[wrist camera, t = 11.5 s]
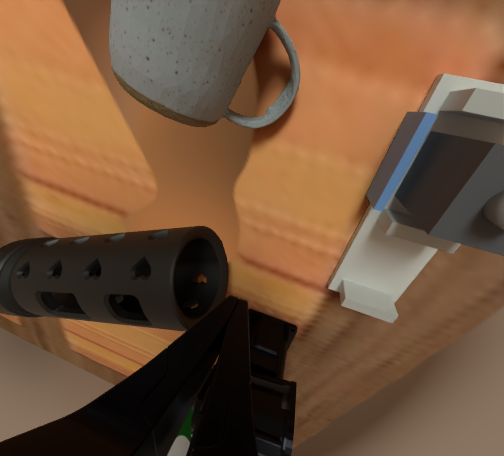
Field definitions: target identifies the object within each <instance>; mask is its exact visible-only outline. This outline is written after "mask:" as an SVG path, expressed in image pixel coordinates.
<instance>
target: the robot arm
mask: <svg viewBox="0 0 504 456" xmlns="http://www.w3.org/2000/svg"><path fill="white" fill-rule="evenodd" d="M296 333H297V326H295V325H293V324H290V323H287V322H285V321H282V320H279V319H277V318H274V317H271V316H268V315H266V314H263V313H260V312H258V311H255V310H252V309H249V310H248V301H247V300H244V299H241V298H240V299H239V298H238V297H236V296H233V295H230V296H228V297H227V298H226V299H225V300H223V301H222V302H221V303H220V304H219V305H217V306H216V307H215V308H214V309H213V310H211V311H210V312H209V313H208V314H207V315H205V316H204V317H203V318H202V319H201V320H199V321H198V322H197V323H196V324H195V325H193V326H192V327H191V328H190V329H189V330H187V331H186V332H185V333H184V334H183V335H181V336H180V337H179V338H178V339H177V340H175V341H174V342H173V343H172V344H170V345H169V346H168V349H167V348H166V349H164V350H163V351H162V352H161V353H160V354H158V355H157V356H156V357H155V358H153V359H152V360H151V361H149V362H148V363H147V364H146V365H144V366H143V367H142V368H140V369H139V370H137V371H136V372H134V373H133V374H132V375H130V376H129V377H127V378H126V379H124V380H123V381H121V382H120V383H118V384H117V385H116V386H114V387H113V388H111V389H110V390H108V391H107V392H105V393H104V394H102V395H101V396H99V397H98V398H96V399H95V400H94V401H92V402H90V403H89V404H87V405H86V406H84V407H82V408H81V409H79V410H77V411H75V412H73V413H72V414H69V415H67V416H65V417H63V418H61V419H58V420H56V421H53V422H50V423H48V424H45V425H43V426H40V427H37V428H35V429H33V430H30V431H27V432H25V433H22V434H20V435H17V436H15V437H12V438H10V439H7V440H4V441H2V442H0V456H167V455H168V453H169V451H170V449H171V447H172V445H173V443H174V441H175V439H176V437H177V435H178V433H179V431H180V429H181V427H182V425H183V423H184V421H185V420H186V418H187V416H188V414H189V412H190V410H191V408H193V416H192V420H191V430H192V431H193V434H192V438H191V441H190V444H189V448H188V451H187V454H186V456H291V452H292V444H293V435H294V422H295V402H296V382H293V381H291V382H290V381H287V380H283V375H284V368H285V361H286V354H287V350H288V348H289V346H290V344H291V342H292V340H293V338H294V336H295V335H296ZM218 355H219V357H218ZM217 357H218V360H217V363H216V365H214V363H215V361H216V359H217ZM213 365H214V367H213ZM212 367H213V368H212ZM211 369H212V370H211ZM210 371H211V372H210ZM209 373H210V374H209ZM208 375H209V376H208ZM207 377H208V378H207ZM206 378H207V379H206ZM205 380H206V381H205ZM204 382H205V383H204ZM203 384H204V385H203ZM202 386H203V387H202ZM201 388H202V389H201ZM283 408H285V409H283Z"/></svg>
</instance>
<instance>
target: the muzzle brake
mask: <svg viewBox="0 0 504 456" xmlns="http://www.w3.org/2000/svg"><path fill="white" fill-rule="evenodd" d="M201 273H203V274H204V275H205V276H206V278H207V282H206V283H204V282H201V283H198V282H197V278H198V276H199V275H200V274H201ZM227 285H228V262H227V257H226V254H225V250H224V247H223V244H222V241H221V240H220V238H219V237H218V236H217V234H216V233H215V232H214V231H213V230H212V229H210V228H208V227H205V226H195V227H184V228H172V229H161V230H151V231H138V232H127V233H115V234H104V235H93V236H81V237H70V238H54V237H43V238H32V239H24V240H19V241H15V242H12V243H10V244H7V245H5V246H3V247H1V248H0V313H2V314H7V315H13V316H21V317H42V316H48V317H57V318H66V319H76V320H85V321H94V322H103V323H113V324H122V325H131V326H140V327H150V328H159V329H168V330H177V331H187V330H189V329H190V328H191V327H192V326H193V325H195V324H196V323H197V322H198V321H199V320H201V319H202V318H203V317H204V316H205V315H207V314H208V313H209V312H210V311H211V310H213V309H214V308H215V307H216V306H217V305H219V304H220V303H221V302H222V301H223V300H225V296H226V292H227ZM196 304H199V305H198V306H197V307H196V308H193V309H192V308H191V307H192V306H194V305H196Z"/></svg>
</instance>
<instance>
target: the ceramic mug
mask: <svg viewBox="0 0 504 456" xmlns="http://www.w3.org/2000/svg"><path fill="white" fill-rule="evenodd" d="M279 4H280V0H112V3H111V17H110V36H109V45H110V56H111V65H112V70H113V73H114V75H115V77H116V79H117V80H118V82H119V84H120V85H121V86H122V87H123V89H124V90H125V91H127V92H128V93H129V94H130V95H131V96H132V97H133V98H135V99H136V100H137V101H139V102H140V103H142V104H144V105H145V106H146V107H148V108H150V109H152V110H153V111H155V112H157V113H159V114H161V115H163V116H165V117H167V118H170V119H172V120H175V121H177V122H180V123H183V124H186V125H190V126H195V127H206V126H210V125H213V124H215V123H216V122H217V121H218V120H219V119H220V118H221V117H226V118H227V119H228V120H229V121H231V122H233V123H235V124H237V125H240V126H243V127H248V128H260V127H264V126H267V125H269V124H272V123H274V122H275V121H276V120H278V119H279V118H280V117H281V116H282V115H283V114H284V113H285V112H286V110H287V109H288V108H289V106H290V105H291V104H292V102H293V100H294V98H295V96H296V94H297V91H298V88H299V82H300V66H299V60H298V56H297V52H296V49H295V46H294V44H293V42H292V40H291V38H290V36H289V35H288V33H287V32H286V31H285V29H284V28H283V26H282V25H281V24H280V22H279V21H278V20H277V19H276V16H275V14H276V11H277V8H278V6H279ZM268 28H271V29H272V30H273V31H274V32H275V33H276V35H277V36H278V38H279V39H280V40H281V42H282V44H283V45H284V47H285V49H286V52H287V54H288V56H289V60H290V64H291V76H290V79H289V83H288V85H287V86H286V88H285V89H284V90H283V92H282V93H281V95H280V96H279V98H278V99H277V100H276V102H275V103H274V104H273V105H272V106H270V107H268V109H267V111H266V115H263V116H261V117H254V118H251V117H247V116H242V115H240V114H237V113H235V112H233V111H232V110H230V109H229V108H228V107H229V105H230V103H231V100H232V98H233V96H234V94H235V92H236V90H237V88H238V87H239V85H240V83H241V79H242V77H243V75H244V73H245V71H246V69H247V67H248V65H249V64H250V62H251V60H252V58H253V56H254V54H255V53H256V51H257V49H258V47H259V45H260V42H261V41H262V39H263V36H264V35H265V33H266V31H267V29H268Z"/></svg>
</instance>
